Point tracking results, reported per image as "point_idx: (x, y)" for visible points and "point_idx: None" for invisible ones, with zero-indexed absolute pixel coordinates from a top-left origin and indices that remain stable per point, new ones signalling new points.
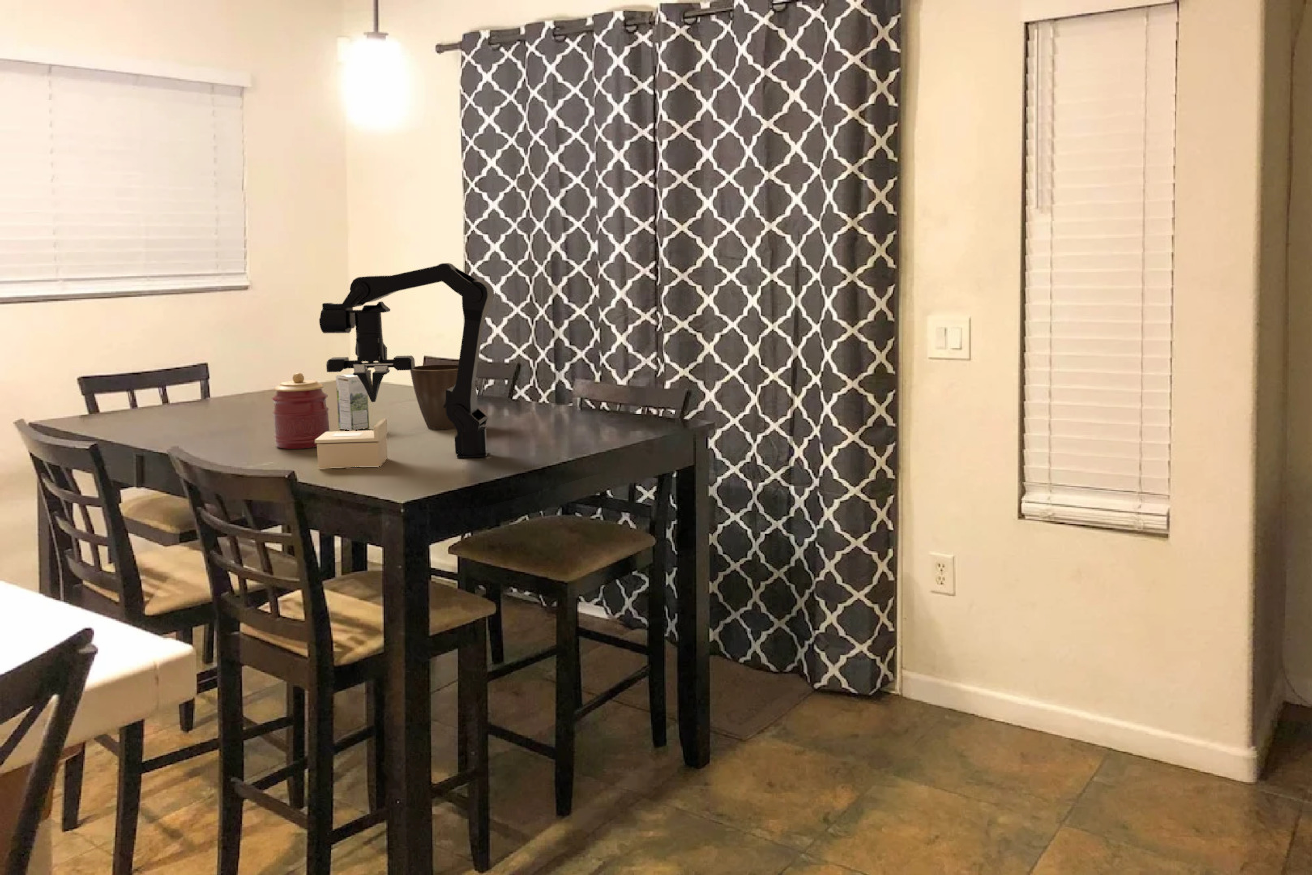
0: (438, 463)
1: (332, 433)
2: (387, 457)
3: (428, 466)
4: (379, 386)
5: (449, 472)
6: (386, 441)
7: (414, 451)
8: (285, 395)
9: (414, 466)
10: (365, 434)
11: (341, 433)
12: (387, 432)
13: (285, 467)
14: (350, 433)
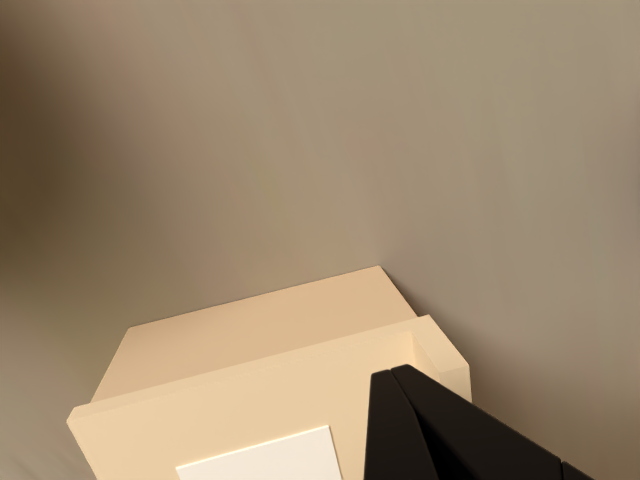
0: (589, 324)
1: (150, 461)
2: (381, 269)
3: (561, 371)
4: (571, 474)
5: (629, 433)
6: (406, 304)
7: (453, 85)
8: None
9: (516, 378)
10: (360, 457)
11: (216, 467)
12: (430, 319)
13: (24, 465)
14: (269, 459)
